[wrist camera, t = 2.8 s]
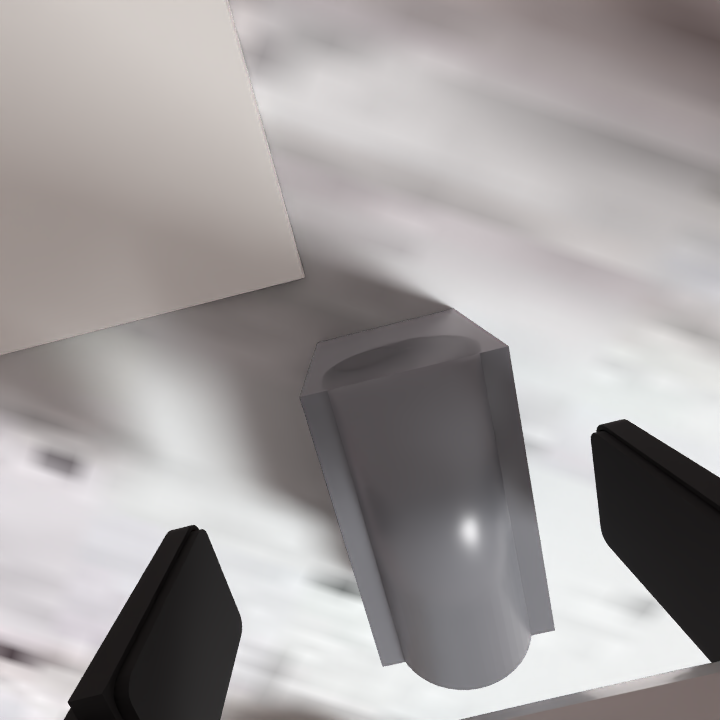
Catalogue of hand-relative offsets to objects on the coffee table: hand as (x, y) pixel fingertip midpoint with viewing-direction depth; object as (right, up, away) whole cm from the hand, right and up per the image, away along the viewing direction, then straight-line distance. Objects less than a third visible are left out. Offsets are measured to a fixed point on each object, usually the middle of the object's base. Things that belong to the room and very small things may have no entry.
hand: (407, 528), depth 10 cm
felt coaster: (-10, +11, +2) cm, 15 cm away
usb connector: (+1, 0, +5) cm, 5 cm away
